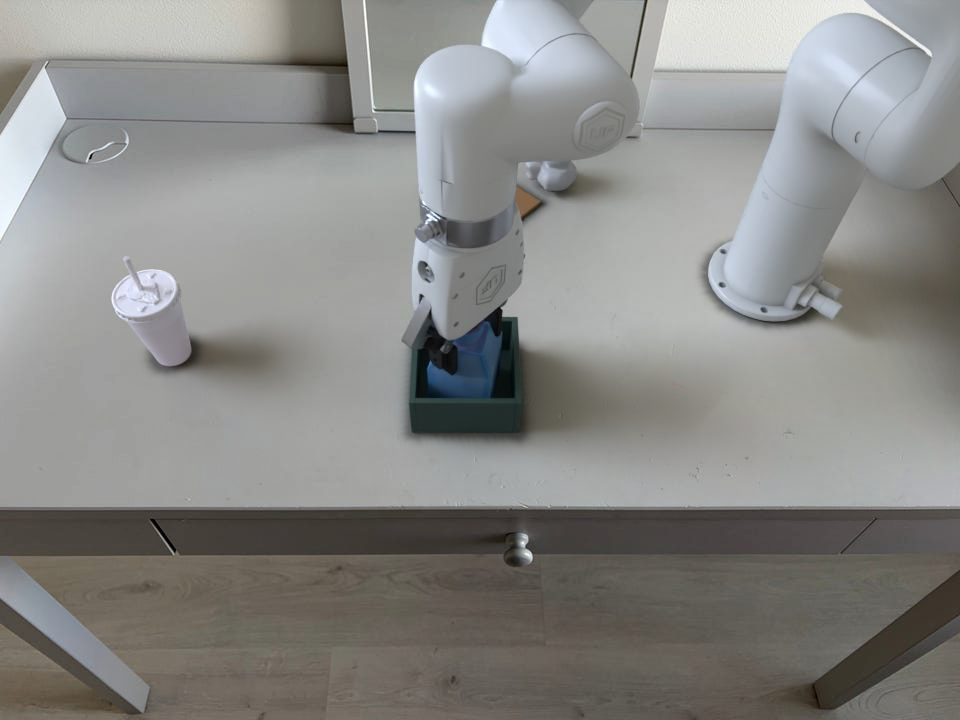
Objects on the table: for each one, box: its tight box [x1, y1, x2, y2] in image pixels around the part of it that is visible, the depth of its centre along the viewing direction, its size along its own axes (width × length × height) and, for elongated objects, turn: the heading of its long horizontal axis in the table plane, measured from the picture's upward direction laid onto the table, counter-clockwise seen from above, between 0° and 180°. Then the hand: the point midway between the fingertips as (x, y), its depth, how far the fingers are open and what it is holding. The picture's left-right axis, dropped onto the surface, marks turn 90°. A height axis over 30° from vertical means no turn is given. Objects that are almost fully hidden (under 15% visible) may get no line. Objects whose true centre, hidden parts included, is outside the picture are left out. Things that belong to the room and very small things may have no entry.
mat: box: [515, 185, 542, 219], centre depth 98 cm, size 7×7×1 cm
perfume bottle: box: [427, 319, 502, 398], centre depth 76 cm, size 6×6×12 cm
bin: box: [408, 316, 523, 433], centre depth 79 cm, size 11×11×5 cm
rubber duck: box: [525, 160, 578, 192], centre depth 98 cm, size 5×7×8 cm
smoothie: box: [110, 255, 192, 367], centre depth 78 cm, size 6×6×14 cm
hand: (465, 346), depth 76 cm, fingers closed on perfume bottle, 5 cm apart
